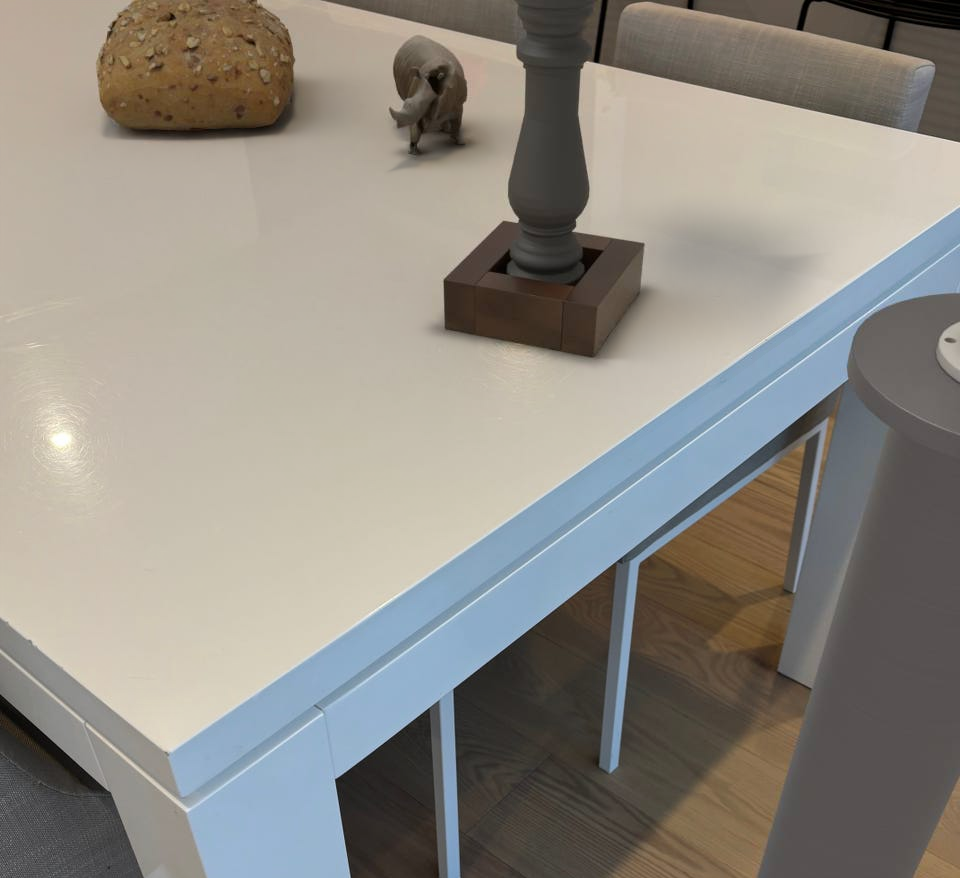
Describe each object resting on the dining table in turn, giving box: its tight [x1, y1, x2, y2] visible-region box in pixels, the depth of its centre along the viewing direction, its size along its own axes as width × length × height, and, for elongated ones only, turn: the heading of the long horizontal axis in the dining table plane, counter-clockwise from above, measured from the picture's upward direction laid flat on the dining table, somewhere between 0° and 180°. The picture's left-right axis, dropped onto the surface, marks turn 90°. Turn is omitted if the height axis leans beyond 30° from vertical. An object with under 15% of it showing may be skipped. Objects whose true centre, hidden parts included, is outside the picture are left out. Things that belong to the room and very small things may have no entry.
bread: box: [95, 0, 296, 132], centre depth 121 cm, size 24×21×12 cm
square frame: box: [442, 220, 645, 358], centre depth 85 cm, size 12×12×4 cm
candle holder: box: [507, 0, 599, 287], centre depth 78 cm, size 6×6×25 cm
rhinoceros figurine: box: [388, 34, 468, 156], centre depth 113 cm, size 8×14×15 cm
